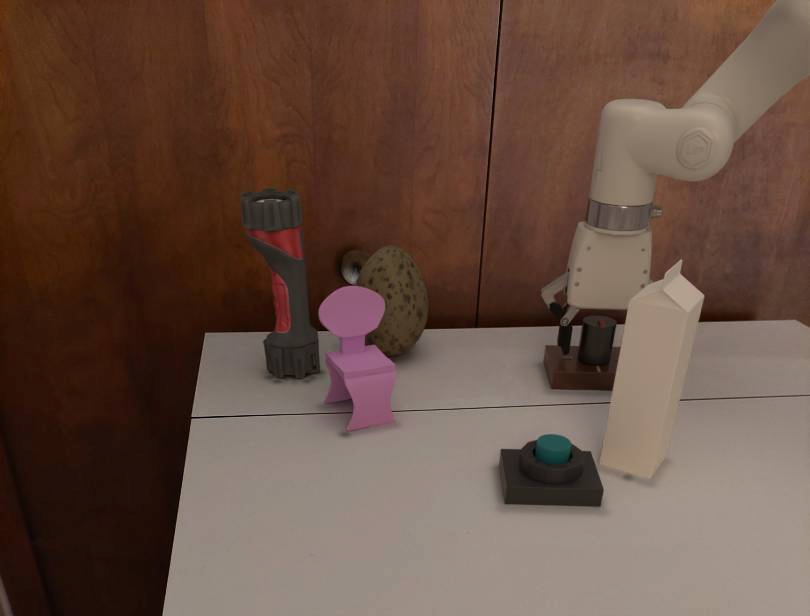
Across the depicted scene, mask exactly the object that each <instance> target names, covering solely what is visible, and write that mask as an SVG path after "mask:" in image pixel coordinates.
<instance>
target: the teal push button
mask: <svg viewBox="0 0 810 616" xmlns="http://www.w3.org/2000/svg"><path fill="white" fill-rule="evenodd" d="M536 440H537V443H536V451H535V457H536V458H537V459H538V460H540V461H543V462H546V463H551V464H561V463H564V462H567V461H568V460H569V457H570V451H571V444H572V441H571V440H570V439H569V438H568V437H566V436H564V435H561V434H556V433H547V434H542V435H540V436H539V437H537V439H536Z"/></svg>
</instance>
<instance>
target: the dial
mask: <svg viewBox="0 0 810 616" xmlns="http://www.w3.org/2000/svg"><path fill="white" fill-rule="evenodd" d="M617 324H618V323H617V321H616V319H614V318H611V317H609V316H604V315H588V316H585V317H584V318H583V319H582V323H581V329H580V330H581V331H580V337H579V344H578V346H579V349H578V355H577V357H578V359H579V360H580V361H582V362H584V363H587V364H592V365H602V364H606V363H608V362H609V361H610V359H611V353H612V347H614V341H615V336H616V330H617Z"/></svg>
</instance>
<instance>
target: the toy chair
mask: <svg viewBox="0 0 810 616" xmlns="http://www.w3.org/2000/svg"><path fill="white" fill-rule="evenodd" d="M384 311H385V302H384V299H383V298H382V296H380V295H379V294H378V293H376V292H374V291H372V290H370V289H367V288H364V287H359V286H355V285H347V286H343V287H340V288H338V289H336V290H334V291H333V292H332V293H330V294H329V295H328V296H327V297H326V298H325V299H324V300H322V303H321V304H320V306H319V308H318V313H317V315H318V320H319V322H320V324H321V325H322V326H323V327H324V328H325V329H326V330H328V331H329V332H330V333H331V335H333V336H336V337H338V338H339V339H338V340H339V350H332V351H326V352H325V359H324V362H325V366H326V368H327V370H328V373H329V376H330V384H329V388H328V391H327V393H326V396H325V397H324V400H323V403H324V404H330V403H337V402H342V401H347V400H351V401H352V405H353V409H352V415H351V417H350V420H349V422H348V424H347V426H346V429H345V431H346V432H350V431H351V432H352V431H356V430H361V429H366V428H370V427H375V426H381V425H385V424H390V423H391V424H392V423H395V422H396V420H395V418H394V414H393V412H392V404H391V403H392V402H391V400H392V395H393V390H394V387H395V385H396V384H395V383H396V381H397V374H396V364H395V363H394V361H392V360H391V359H390V358H388V356H385V355H384V354H383V353H382V352H381V351H380V350H379V349H378V348H377V347H376V346H375V345H370V346H365V335H366V334H368V333H369V332H371V331H373V330H374V329H376V328H377V327H378V325H379V323H380V321H381V319H382V317H383V314H384Z"/></svg>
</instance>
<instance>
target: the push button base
mask: <svg viewBox="0 0 810 616" xmlns="http://www.w3.org/2000/svg"><path fill="white" fill-rule="evenodd" d="M536 443H537V439H534V440H530V441H527V442H526V443H525V444H524V445H523V446H521V448H500V452H499V462H498V468H499V475H500V481H501V482H500V483H501V487H502V495H503V501H504V505H514V506H515V505H517V506H518V505H520V506H552V507H553V506H554V507H555V506H556V507H592V508H593V507H594V508H601V506H602V501H603V496H604V490H605V489H604V486H603V483H602V479H601V477H600V474H599V472H598V471H599V470H598V468H597V465H596V462H595V460H594V457H593V456H594V455H593V453H592V451H591V450H582V449H580V448H579V447H578V446H576V445H575V444H574V443H571V451H570V457H569V460H568V461H567V462H564V463H561V464H551V463H546V462H543V461H540V460H538V459H537V458H536V457H535V451H536Z"/></svg>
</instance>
